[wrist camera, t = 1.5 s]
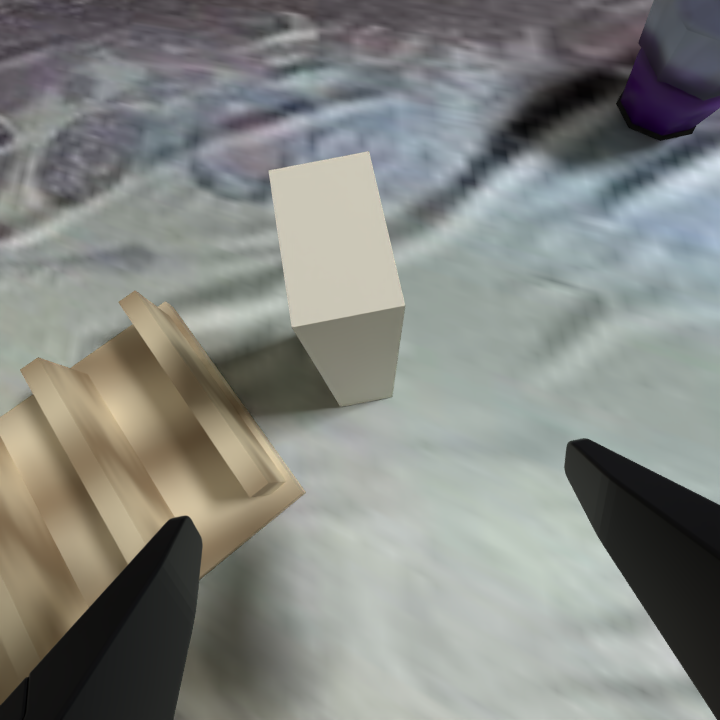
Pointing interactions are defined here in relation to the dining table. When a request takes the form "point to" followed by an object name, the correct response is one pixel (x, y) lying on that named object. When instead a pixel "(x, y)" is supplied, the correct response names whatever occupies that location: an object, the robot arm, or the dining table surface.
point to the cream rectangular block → (340, 274)
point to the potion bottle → (675, 69)
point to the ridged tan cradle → (121, 475)
